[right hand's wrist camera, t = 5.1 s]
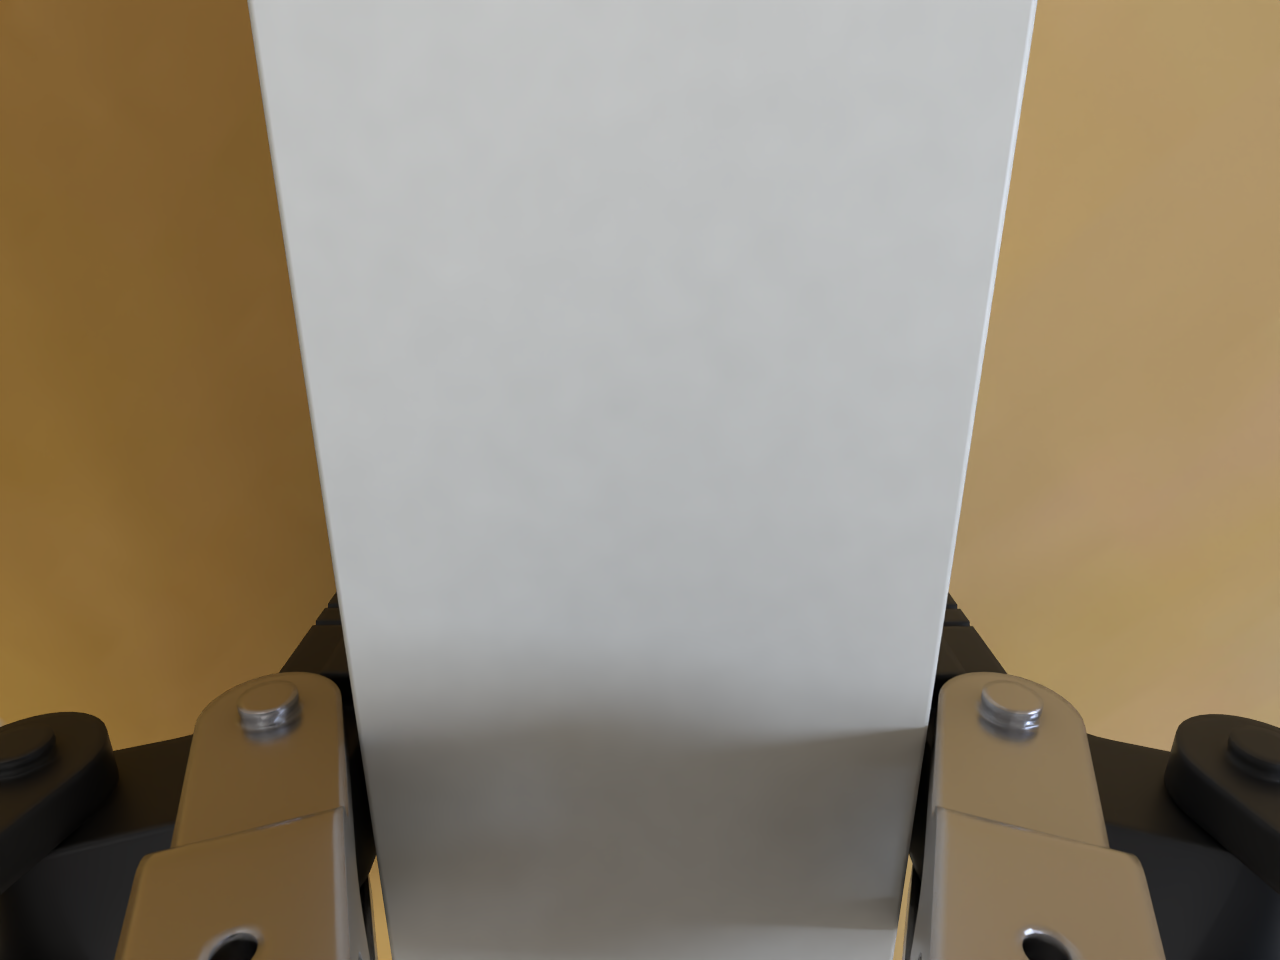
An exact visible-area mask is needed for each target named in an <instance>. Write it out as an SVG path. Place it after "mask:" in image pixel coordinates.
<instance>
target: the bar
mask: <svg viewBox="0 0 1280 960" xmlns="http://www.w3.org/2000/svg"><path fill="white" fill-rule="evenodd" d="M247 1H248V8H249V14H250V21H251V28H252V34H253V41H254V47H255V54H256V61H257V67H258V74H259V81H260V87H261V94H262V100H263V107H264V114H265V120H266V127H267V133H268V140H269V147H270V153H271V160H272V167H273V173H274V180H275V186H276V193H277V200H278V206H279V213H280V219H281V226H282V233H283V239H284V246H285V253H286V259H287V266H288V272H289V279H290V286H291V292H292V299H293V305H294V312H295V319H296V325H297V332H298V339H299V345H300V352H301V358H302V365H303V372H304V378H305V385H306V391H307V398H308V405H309V411H310V418H311V425H312V431H313V438H314V444H315V451H316V458H317V464H318V471H319V477H320V484H321V491H322V497H323V504H324V511H325V517H326V524H327V530H328V537H329V544H330V550H331V557H332V563H333V570H334V577H335V583H336V590H337V597H338V603H339V610H340V616H341V623H342V630H343V636H344V643H345V649H346V656H347V663H348V669H349V676H350V682H351V689H352V696H353V702H354V709H355V716H356V722H357V729H358V735H359V742H360V749H361V755H362V762H363V768H364V775H365V782H366V788H367V795H368V802H369V808H370V815H371V821H372V828H373V835H374V841H375V848H376V854H377V861H378V868H379V874H380V881H381V888H382V894H383V901H384V907H385V914H386V921H387V927H388V934H389V940H390V947H391V954H392V960H893V954H894V948H895V941H896V934H897V928H898V921H899V914H900V908H901V901H902V895H903V888H904V881H905V875H906V868H907V861H908V855H909V848H910V842H911V835H912V828H913V822H914V815H915V808H916V802H917V795H918V789H919V782H920V775H921V769H922V762H923V755H924V749H925V742H926V735H927V729H928V722H929V716H930V709H931V702H932V696H933V689H934V682H935V676H936V669H937V663H938V656H939V649H940V643H941V636H942V629H943V623H944V616H945V610H946V603H947V596H948V590H949V583H950V576H951V570H952V563H953V557H954V550H955V543H956V537H957V530H958V523H959V517H960V510H961V503H962V497H963V490H964V484H965V477H966V470H967V464H968V457H969V450H970V444H971V437H972V431H973V424H974V417H975V411H976V404H977V397H978V391H979V384H980V378H981V371H982V364H983V358H984V351H985V344H986V338H987V331H988V324H989V318H990V311H991V305H992V298H993V291H994V285H995V278H996V271H997V265H998V258H999V252H1000V245H1001V238H1002V232H1003V225H1004V218H1005V212H1006V205H1007V199H1008V192H1009V185H1010V179H1011V172H1012V165H1013V159H1014V152H1015V146H1016V139H1017V132H1018V126H1019V119H1020V112H1021V106H1022V99H1023V92H1024V86H1025V79H1026V73H1027V66H1028V59H1029V53H1030V46H1031V39H1032V33H1033V26H1034V20H1035V13H1036V6H1037V0H247Z"/></svg>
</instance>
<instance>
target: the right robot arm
mask: <svg viewBox="0 0 1280 960" xmlns="http://www.w3.org/2000/svg"><path fill="white" fill-rule="evenodd" d="M909 855H910V857H911V860H912V863H913V865H912V871H911V877H910V884H909V890H908V899H907V910H906V922H905V933H904V945H903V956H902V960H1280V728H1278V727H1275V726H1272V725H1269V724H1267V723H1263V722H1260V721H1256V720H1252V719H1248V718H1243V717H1238V716H1231V715H1223V714H1208V715H1199V716H1195V717H1191V718H1189V719H1187V720H1185V721H1183V722H1182V723H1181V724H1180V725H1179V727H1178V729H1177V731H1176V735H1175V738H1174V742H1173V745H1172V749H1171V752H1168V751H1163V750H1158V749H1153V748H1148V747H1143V746H1138V745H1133V744H1128V743H1123V742H1118V741H1113V740H1109V739H1105V738H1100V737H1096V736H1093V735H1090V734H1087V733H1086V728H1085V725H1084V722H1083V719H1082V717H1081V716H1080V714H1079V713H1078V711H1077V710H1076V709H1075V708H1074V707H1073V706H1072V705H1071V704H1070V703H1069V702H1068V701H1067V700H1066V699H1064V698H1063V697H1062V696H1060V695H1059V694H1057V693H1055V692H1054V691H1052V690H1050V689H1048V688H1046V687H1044V686H1043V685H1040V684H1038V683H1035V682H1033V681H1030V680H1027V679H1024V678H1021V677H1017V676H1013V675H1009V674H1007V673H1006V672H1005V670H1004V669H1003V667H1002V666H1001V665H1000V663H999V662H998V660H997V659H996V658H995V656H994V655H993V654H992V652H991V651H990V649H989V648H988V647H987V645H986V644H985V643H984V641H983V640H982V638H981V637H980V636H979V634H978V633H977V631H976V630H975V629H974V627H973V626H970V622H969V620H968V619H967V618H966V616H965V615H964V613H963V612H962V611H961V609H957V604H956V602H955V601H954V600H953V598H952V597H951V595H950V594H949V593H948V596H947V603H946V610H945V616H944V623H943V629H942V636H941V643H940V649H939V656H938V663H937V669H936V676H935V682H934V689H933V696H932V702H931V709H930V716H929V722H928V729H927V735H926V742H925V749H924V755H923V762H922V769H921V775H920V782H919V789H918V795H917V802H916V808H915V815H914V822H913V828H912V835H911V842H910V848H909ZM375 857H376V848H375V841H374V835H373V828H372V821H371V815H370V808H369V802H368V795H367V788H366V782H365V775H364V768H363V762H362V755H361V749H360V742H359V735H358V729H357V722H356V716H355V709H354V702H353V696H352V689H351V682H350V676H349V669H348V663H347V656H346V649H345V643H344V636H343V630H342V623H341V616H340V610H339V603H338V597H337V592H336V593H335V595H334V596H333V598H332V599H331V600H330V602H329V603H328V608H325V609H324V610H323V612H322V613H321V615H320V616H319V617H318V619H317V620H316V625H313V626H312V627H311V629H310V630H309V631H308V633H307V634H306V636H305V637H304V638H303V640H302V641H301V643H300V644H299V645H298V647H297V648H296V650H295V651H294V652H293V654H292V655H291V657H290V658H289V659H288V661H287V662H286V664H285V665H284V666H283V668H282V669H281V671H280V672H279V673H277V674H271V675H267V676H263V677H259V678H256V679H253V680H250V681H247V682H245V683H242V684H240V685H237V686H236V687H234V688H232V689H230V690H228V691H226V692H225V693H223V694H221V695H220V696H218V697H217V698H216V699H215V700H213V701H212V702H211V703H210V704H209V705H208V706H207V707H206V708H205V709H204V710H203V711H202V713H201V714H200V716H199V717H198V719H197V722H196V725H195V729H194V734H192V735H189V736H185V737H180V738H176V739H171V740H166V741H161V742H156V743H151V744H146V745H141V746H136V747H131V748H126V749H121V750H116V751H113V749H112V746H111V742H110V739H109V735H108V732H107V729H106V726H105V724H104V723H103V722H102V721H101V720H100V719H99V718H97V717H95V716H93V715H89V714H85V713H79V712H58V713H49V714H44V715H38V716H33V717H30V718H26V719H22V720H19V721H16V722H13V723H10V724H7V725H4V726H2V727H0V960H378V956H377V944H376V933H375V922H374V910H373V899H372V890H371V884H370V877H369V872H370V870H371V867H372V865H373V862H374V859H375Z"/></svg>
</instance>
